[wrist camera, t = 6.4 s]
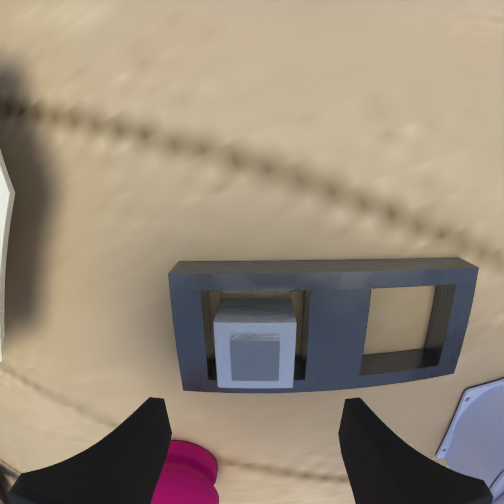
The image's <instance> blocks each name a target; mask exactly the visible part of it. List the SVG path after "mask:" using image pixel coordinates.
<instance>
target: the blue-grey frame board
mask: <svg viewBox="0 0 504 504" xmlns="http://www.w3.org/2000/svg"><path fill="white" fill-rule="evenodd" d="M478 269H479V267H477V266H475V265H473V264H471V263H469V262H467V261H465V260H463V259H461V258H420V259H367V260H299V261H187V262H178V263H177V264H176V266H175V267H174V268H173V269H172V270H171V271H170V272H169V273H168V276H169V287H170V296H171V305H172V314H173V322H174V330H175V338H176V345H177V353H178V360H179V366H180V373H181V379H182V385H183V391H199V392H222V393H290V392H313V391H329V390H342V389H353V388H363V387H372V386H380V385H388V384H396V383H402V382H409V381H415V380H421V379H427V378H433V377H438V376H443V375H448V374H453V373H454V371H455V368H456V365H457V361H458V358H459V355H460V351H461V347H462V344H463V340H464V336H465V332H466V328H467V324H468V320H469V316H470V311H471V307H472V302H473V297H474V292H475V286H476V281H477V275H478ZM431 285H436V290H435V296H434V302H433V308H432V313H431V318H430V323H429V328H428V333H427V338H426V342H425V346H424V349H416V350H408V351H400V352H391V353H381V354H370V355H363V349H364V343H365V336H366V329H367V321H368V313H369V305H370V296H371V288H393V287H413V286H431ZM304 290H305V291H304ZM209 291H304V315H303V335H302V353H301V359H295V361H294V376H293V388H220V387H218V381H217V368H216V359H214V357H213V345H212V333H211V320H210V306H209Z"/></svg>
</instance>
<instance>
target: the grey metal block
mask: <svg viewBox="0 0 504 504" xmlns="http://www.w3.org/2000/svg"><path fill="white" fill-rule="evenodd" d="M213 325H214V340H215V355H216V368H217V381H218V387H220V388H293V376H294V361H295V344H296V325H297V322H296V318H295V313H294V309H293V304H292V300H291V295H290V291H223V293H222V296H221V300H220V303H219V306H218V309H217V312H216V315H215V319H214V322H213Z"/></svg>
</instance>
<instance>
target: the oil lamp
mask: <svg viewBox="0 0 504 504" xmlns="http://www.w3.org/2000/svg"><path fill="white" fill-rule="evenodd" d="M0 504H12V503H11V502H10V500H9V498H8V492H7V489H6V487H5V484H4V481H3V478H2V476H1V474H0Z"/></svg>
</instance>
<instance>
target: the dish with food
mask: <svg viewBox="0 0 504 504" xmlns="http://www.w3.org/2000/svg"><path fill="white" fill-rule="evenodd" d="M14 198H15V191H14V188H13V186H12V183H11V180H10V177H9V174H8V171H7V169H6V166H5V163H4V159H3V156H2V153H1V150H0V361H2V356H3V347H4V340H5V327H4V296H5V273H6V259H7V248H8V239H9V230H10V223H11V216H12V210H13V204H14Z"/></svg>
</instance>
